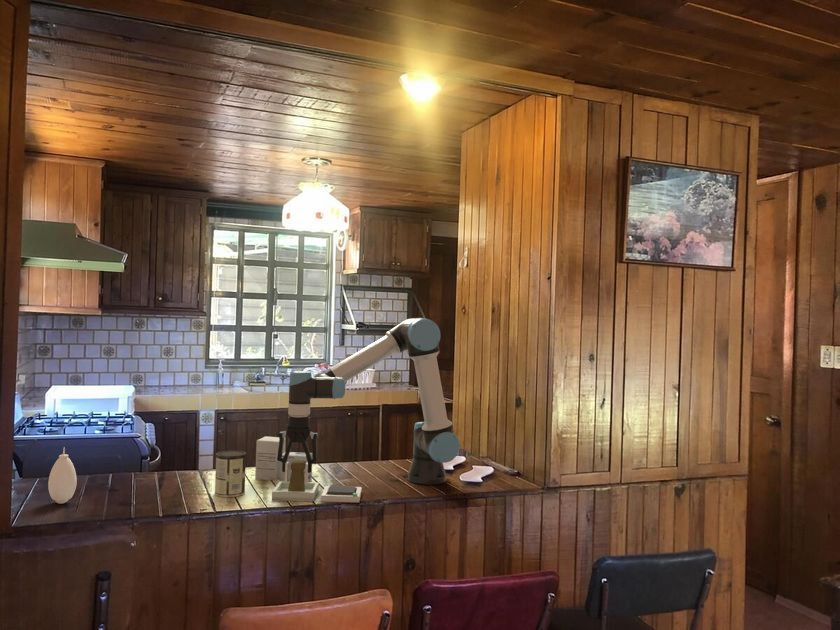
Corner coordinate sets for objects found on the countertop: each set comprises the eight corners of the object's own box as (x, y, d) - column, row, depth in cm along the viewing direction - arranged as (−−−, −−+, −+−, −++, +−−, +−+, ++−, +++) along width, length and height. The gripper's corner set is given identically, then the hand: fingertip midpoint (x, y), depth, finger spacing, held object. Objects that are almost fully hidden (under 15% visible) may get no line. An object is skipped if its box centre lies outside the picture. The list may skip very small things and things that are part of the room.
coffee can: (228, 488, 235) (229, 449, 235) (251, 492, 231) (252, 452, 231) (207, 494, 226) (209, 453, 226) (231, 499, 221) (232, 457, 221)
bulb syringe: (56, 507, 204) (58, 450, 204) (42, 503, 208) (45, 446, 209) (80, 502, 211) (82, 446, 211) (66, 498, 215) (69, 443, 215)
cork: (288, 490, 232) (290, 458, 232) (305, 490, 232) (307, 459, 232) (286, 494, 226) (288, 462, 226) (304, 495, 226) (306, 463, 226)
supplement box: (263, 473, 258) (264, 436, 259) (285, 475, 257) (286, 437, 257) (254, 479, 249) (255, 439, 250) (276, 480, 248) (278, 441, 248)
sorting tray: (318, 490, 236) (318, 482, 236) (313, 501, 222) (313, 492, 222) (279, 489, 236) (279, 481, 236) (271, 500, 222) (272, 491, 222)
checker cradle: (361, 492, 236) (361, 484, 236) (359, 502, 223) (359, 494, 223) (325, 491, 236) (325, 483, 236) (320, 501, 223) (321, 493, 223)
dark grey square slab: (355, 490, 234) (355, 485, 234) (353, 497, 225) (354, 492, 225) (330, 489, 234) (330, 485, 234) (327, 496, 225) (327, 491, 225)
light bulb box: (312, 480, 250) (313, 452, 251) (307, 485, 244) (308, 456, 244) (284, 479, 252) (286, 451, 252) (279, 483, 245) (280, 454, 245)
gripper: (327, 414, 233) (325, 479, 233) (273, 413, 233) (270, 478, 232) (325, 417, 226) (322, 485, 225) (269, 416, 225) (266, 483, 225)
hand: (296, 481), depth 229 cm, fingers open, 6 cm apart
